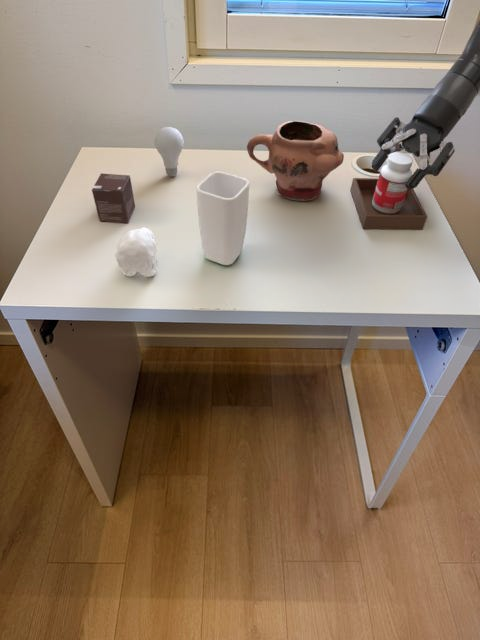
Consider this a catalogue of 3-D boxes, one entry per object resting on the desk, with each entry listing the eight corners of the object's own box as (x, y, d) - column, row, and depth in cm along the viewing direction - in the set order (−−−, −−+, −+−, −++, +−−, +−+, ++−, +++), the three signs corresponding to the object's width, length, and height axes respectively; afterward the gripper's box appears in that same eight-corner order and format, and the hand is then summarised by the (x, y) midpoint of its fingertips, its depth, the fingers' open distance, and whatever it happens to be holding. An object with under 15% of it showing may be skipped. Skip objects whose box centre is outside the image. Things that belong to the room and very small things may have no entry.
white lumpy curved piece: (110, 243, 74) (124, 206, 83) (118, 285, 80) (130, 247, 89) (150, 244, 75) (159, 207, 83) (155, 286, 80) (163, 248, 89)
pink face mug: (243, 203, 99) (246, 140, 89) (246, 173, 107) (249, 112, 97) (338, 209, 98) (351, 146, 88) (333, 178, 107) (345, 118, 96)
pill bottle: (372, 196, 101) (385, 148, 93) (400, 200, 100) (416, 152, 92) (370, 212, 97) (384, 163, 89) (400, 217, 96) (417, 168, 88)
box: (136, 207, 97) (131, 174, 91) (128, 224, 93) (122, 191, 87) (107, 204, 97) (100, 172, 92) (98, 221, 93) (90, 189, 88)
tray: (422, 229, 94) (427, 217, 92) (362, 229, 94) (366, 216, 92) (404, 191, 104) (408, 178, 102) (350, 190, 103) (353, 177, 101)
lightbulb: (180, 185, 103) (177, 136, 95) (154, 180, 104) (148, 132, 96) (189, 171, 107) (186, 124, 99) (163, 167, 108) (159, 120, 100)
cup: (215, 239, 90) (214, 168, 79) (249, 251, 88) (253, 180, 77) (196, 260, 86) (192, 189, 75) (230, 273, 84) (232, 201, 73)
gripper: (410, 82, 90) (357, 155, 93) (475, 108, 82) (415, 186, 86) (419, 104, 96) (368, 171, 99) (480, 130, 89) (423, 202, 92)
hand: (390, 178), depth 93 cm, fingers open, 8 cm apart
